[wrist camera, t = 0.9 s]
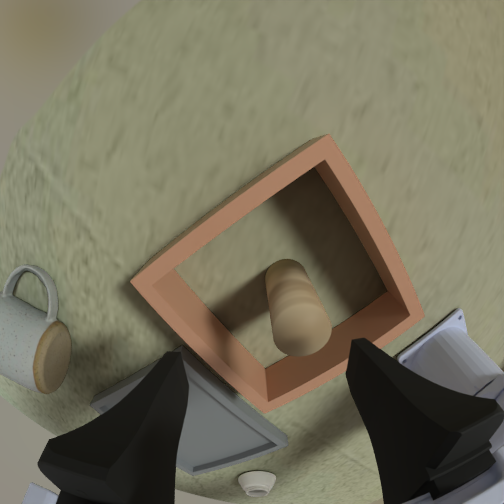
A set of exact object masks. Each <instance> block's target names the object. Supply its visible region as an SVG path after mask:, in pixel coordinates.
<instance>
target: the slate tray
mask: <svg viewBox="0 0 504 504" xmlns="http://www.w3.org/2000/svg"><path fill="white" fill-rule="evenodd" d="M172 352H181V354H182V359H183V363H184V367H185V371H186V375H187V379H188V383H189V395H188V406H187V410H186V415H185V419H184V424H183V428H182V432H181V437H180V441H179V446H178V452H177V460H176V467H178V468H179V469H181V470H183V471H185V472H187V473H188V474H190V475H192V476H194V475H198V474H202V473H206V472H210V471H214V470H218V469H222V468H225V467H229V466H232V465H235V464H239V463H242V462H245V461H248V460H251V459H254V458H257V457H260V456H263V455H265V454H268V453H271V452H274V451H276V450H279V449H281V448H284V447H286V446H288V439H287V435H286V434H285V433H283V432H282V431H281V430H279V429H278V428H277V427H275V426H274V425H273V424H272V423H270V422H269V421H268V420H266V419H265V418H264V417H263V416H261V415H260V414H259V413H258V412H256V411H255V410H254V409H253V408H252V407H250V406H249V405H248V404H247V403H245V402H244V401H243V400H242V399H241V398H240V397H238V396H237V395H236V394H235V393H234V392H233V391H231V390H230V389H229V388H228V387H227V386H226V385H225V384H223V383H222V382H221V381H220V380H219V379H218V378H217V377H216V376H215V375H213V374H212V373H211V372H210V371H209V370H208V369H207V368H206V367H205V366H204V365H203V364H202V363H201V362H200V361H198V360H197V359H196V358H195V357H194V356H193V355H192V354H191V353H190V352H189V351H188V350H187V349H186V348H185V347H184V346H183V345H182V346H180V347H179V348H177V349H175V350H174V351H172ZM160 359H161V358H160ZM160 359H158V360H157V361H155V362H153V363H152V364H150V365H148V366H147V367H145V368H143V369H141V370H140V371H138V372H136V373H134V374H133V375H131V376H129V377H128V378H126V379H124V380H122V381H120V382H119V383H117V384H115V385H113V386H112V387H110V388H108V389H106V390H104V391H103V392H101V393H99V394H97V395H95V396H94V398H93V400H92V401H91V403H90V406H91V407H92V408H94V409H95V410H96V411H97V412H98V413H100V414H101V415H102V414H103V413H105V412H106V411H108V410H109V409H111V408H112V407H113V406H114V405H116V404H117V403H118V402H120V401H121V400H122V399H123V398H124V397H125V396H126V395H127V394H128V393H129V392H131V391H132V390H133V389H134V388H135V387H136V386H137V385H138V384H139V383H140V382H141V380H142V379H143V378H144V377H145V376H146V375H147V374H148V373H149V372H150V371H151V369H152V368H153V367H154V366H155V365H156V364H157V362H158V361H159V360H160Z"/></svg>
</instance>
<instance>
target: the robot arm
mask: <svg viewBox="0 0 504 504" xmlns="http://www.w3.org/2000/svg"><path fill="white" fill-rule="evenodd" d="M397 359H398V361H399V362H397V361H396V360H395V359H393V358H392V357H390V356H389V355H388V354H386V353H385V352H384V351H382V350H381V349H380V348H378V347H377V346H376V345H374V344H373V343H372V342H370V341H369V340H367V339H366V338H358V339H352V340H351V347H350V353H349V358H348V364H347V369H346V378H347V381H348V385H349V388H350V392H351V394H352V397H353V399H354V401H355V404H356V406H357V408H358V411H359V413H360V415H361V417H362V420H363V422H364V424H365V426H366V429H367V431H368V434H369V436H370V439H371V443H372V446H373V450H374V454H375V458H376V462H377V466H378V470H379V475H380V481H381V486H382V493H383V501H384V504H504V372H503V371H502V370H501V369H500V368H499V367H498V366H497V364H496V363H495V362H494V361H493V360H492V359H491V358H490V357H489V356H488V355H487V354H486V353H485V352H484V351H483V350H482V349H481V348H480V347H479V346H478V345H477V344H476V343H475V342H474V341H473V340H472V339H471V338H470V337H469V336H468V333H467V328H466V324H465V319H464V315H463V311H462V310H461V309H460V308H458V309H456V310H455V311H454V312H453V313H452V314H450V315H449V316H448V317H447V318H446V319H445V320H443V321H442V322H441V323H440V324H439V325H437V326H436V327H435V328H434V329H432V330H431V331H430V332H429V333H427V334H426V335H425V336H423V337H422V338H421V339H419V340H418V341H417V342H415V343H414V344H413V345H411V346H410V347H409V348H407V349H406V350H404V351H403V352H402V353H400V354H399V355H398V357H397ZM403 360H404V361H403ZM188 395H189V383H188V379H187V375H186V371H185V367H184V363H183V359H182V354H181V352H166V353H165V354H164V355H163V357H162V358H161V359H160V360H159V361H158V362H157V364H156V365H155V366H154V367H153V368H152V369H151V371H150V372H149V373H148V374H147V375H146V376H145V377H144V378H143V379H142V380H141V382H140V383H139V384H138V385H137V386H136V387H135V388H134V389H133V390H132V391H131V392H129V393H128V394H127V395H126V396H125V397H124V398H123V399H122V400H121V401H120V402H118V403H117V404H116V405H114V406H113V407H112V408H111V409H109V410H108V411H106V412H105V413H103V414H102V415H100V416H99V417H97V418H95V419H94V420H92V421H91V422H89V423H87V424H85V425H83V426H81V427H79V428H77V429H75V430H73V431H71V432H68V433H66V434H63V435H60V436H58V437H56V438H52V439H49V441H48V443H47V445H46V447H45V449H44V451H43V453H42V455H41V457H40V459H39V461H38V467H39V469H40V471H41V472H42V473H43V474H44V475H45V476H46V477H47V478H48V479H49V480H50V481H52V483H54V484H55V485H56V486H57V487H58V488H59V489H60V490H61V491H60V494H59V495H57V494H56V493H54V492H52V491H50V490H48V489H46V488H43V487H41V486H39V485H37V484H35V483H33V482H32V483H30V485H29V487H28V489H27V492H26V494H25V497H24V499H23V502H22V504H174V499H175V496H174V495H175V473H176V460H177V452H178V446H179V441H180V437H181V432H182V428H183V424H184V419H185V415H186V410H187V406H188Z"/></svg>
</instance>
